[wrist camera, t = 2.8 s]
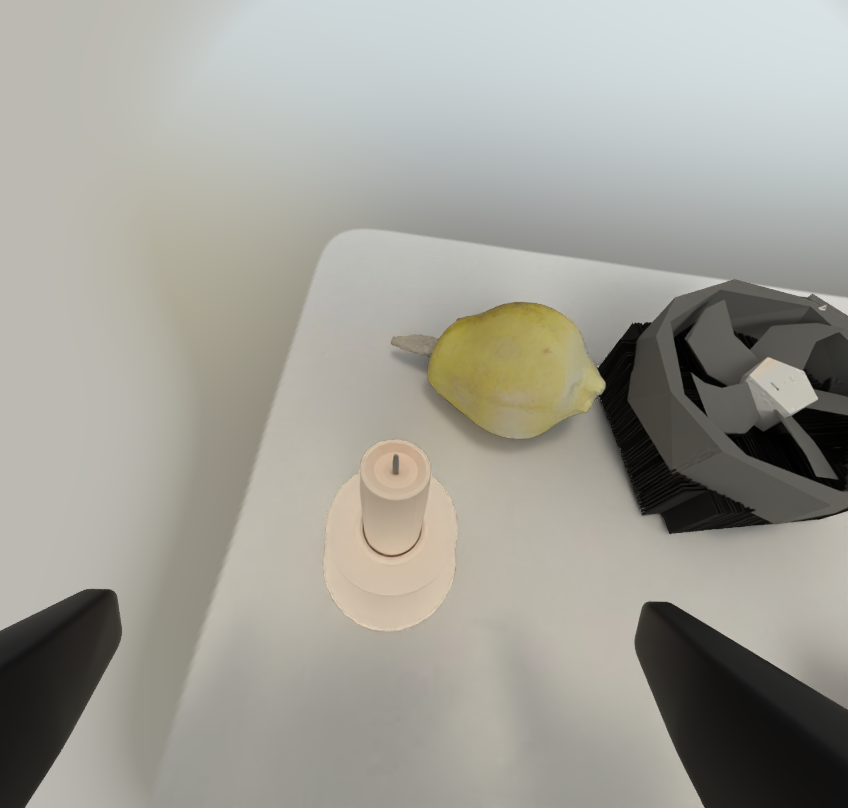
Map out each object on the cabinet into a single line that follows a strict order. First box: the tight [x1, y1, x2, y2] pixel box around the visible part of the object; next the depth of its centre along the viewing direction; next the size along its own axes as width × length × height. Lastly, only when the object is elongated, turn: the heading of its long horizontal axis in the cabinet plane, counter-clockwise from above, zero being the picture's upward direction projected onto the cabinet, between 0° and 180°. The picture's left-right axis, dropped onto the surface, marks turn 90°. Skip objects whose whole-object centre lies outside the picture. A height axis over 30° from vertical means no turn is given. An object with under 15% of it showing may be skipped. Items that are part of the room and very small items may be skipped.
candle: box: [323, 439, 458, 631], centre depth 13 cm, size 5×5×10 cm
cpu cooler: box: [598, 279, 848, 534], centre depth 19 cm, size 10×6×10 cm
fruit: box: [391, 302, 606, 439], centre depth 19 cm, size 6×6×10 cm
